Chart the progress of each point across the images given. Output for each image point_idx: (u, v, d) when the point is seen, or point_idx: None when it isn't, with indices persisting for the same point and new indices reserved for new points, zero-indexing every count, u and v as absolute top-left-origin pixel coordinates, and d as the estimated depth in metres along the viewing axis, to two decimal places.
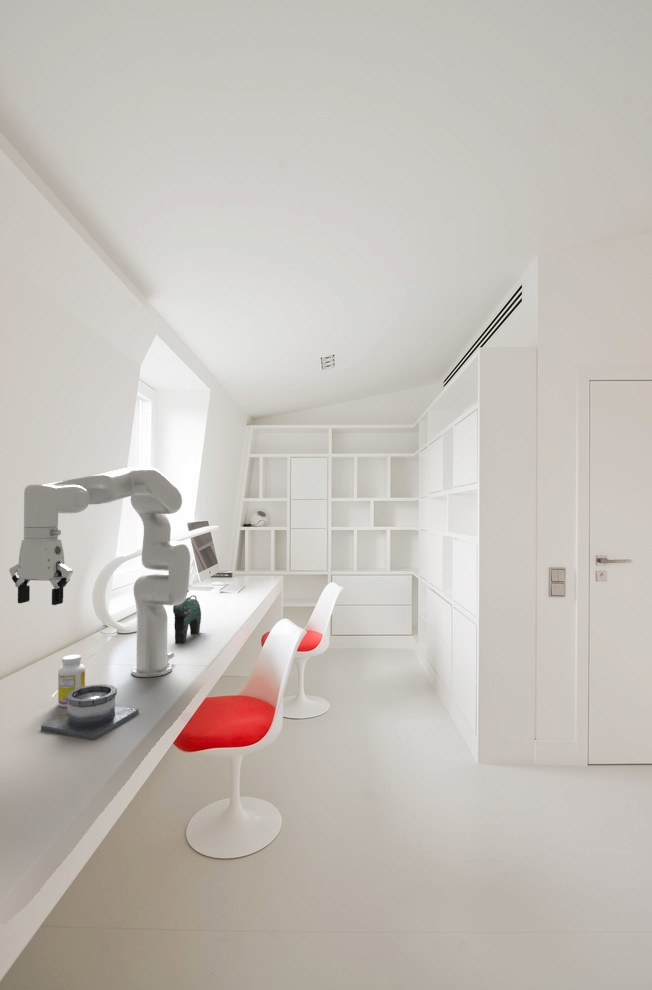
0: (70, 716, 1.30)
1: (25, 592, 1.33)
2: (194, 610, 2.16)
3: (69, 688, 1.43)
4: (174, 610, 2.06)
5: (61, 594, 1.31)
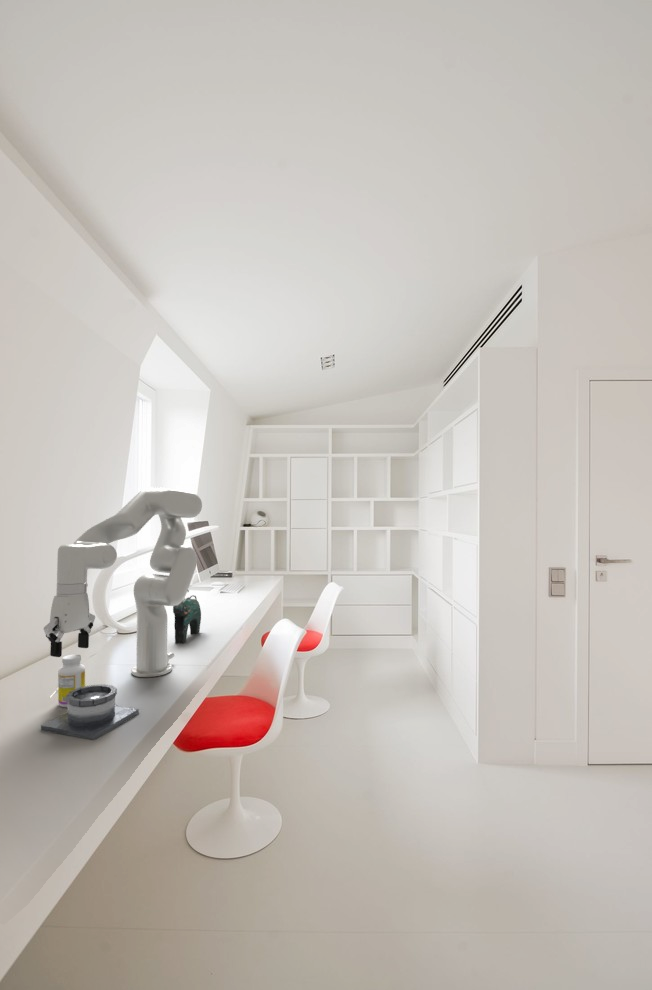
0: (70, 716, 1.30)
1: None
2: (194, 610, 2.16)
3: (69, 688, 1.43)
4: (174, 610, 2.06)
5: None
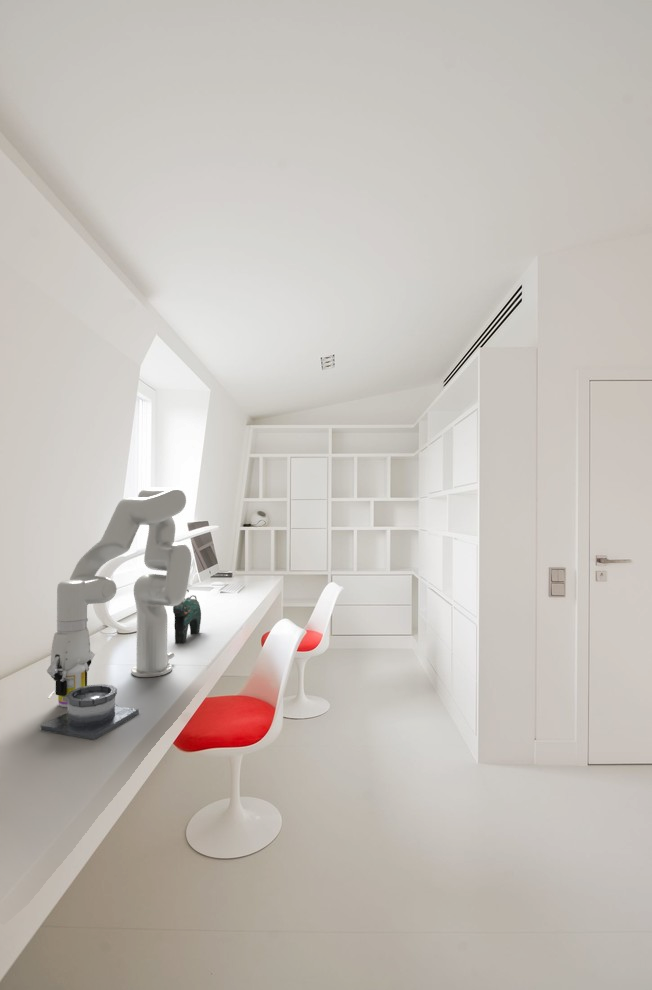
0: (70, 716, 1.30)
1: None
2: (194, 610, 2.16)
3: (69, 688, 1.43)
4: (174, 610, 2.06)
5: None
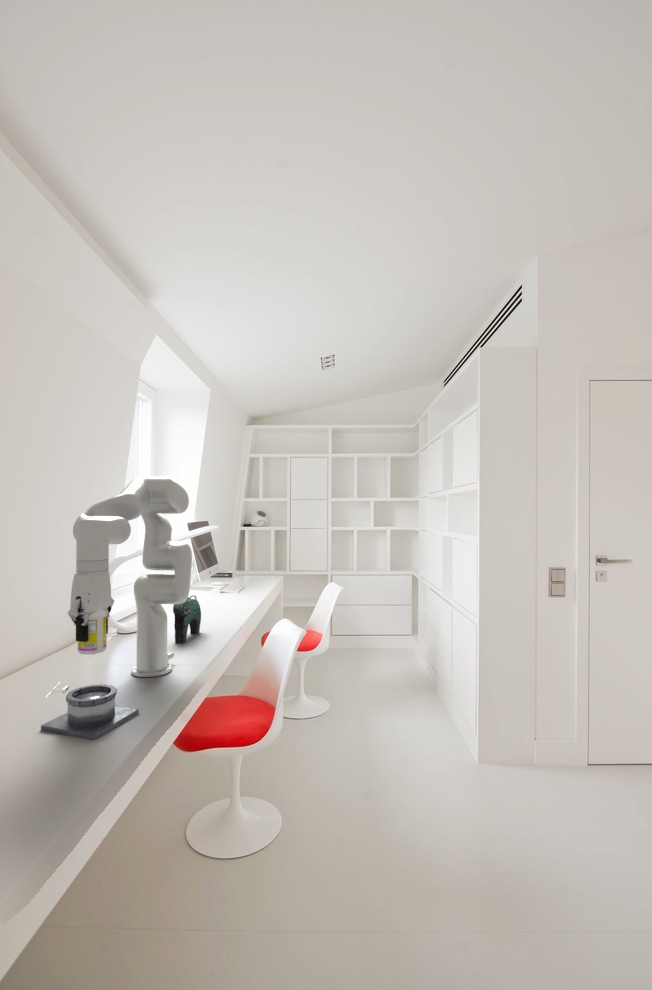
0: (70, 716, 1.30)
1: None
2: (194, 610, 2.16)
3: (90, 634, 1.31)
4: (174, 610, 2.06)
5: None
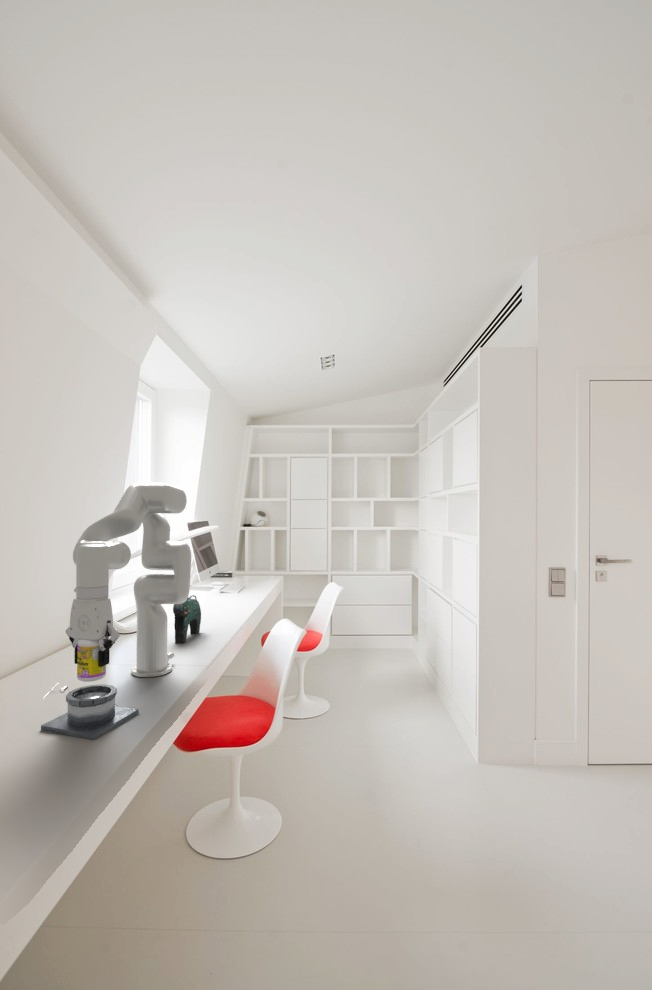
0: (70, 716, 1.30)
1: None
2: (194, 610, 2.16)
3: None
4: (174, 610, 2.06)
5: None
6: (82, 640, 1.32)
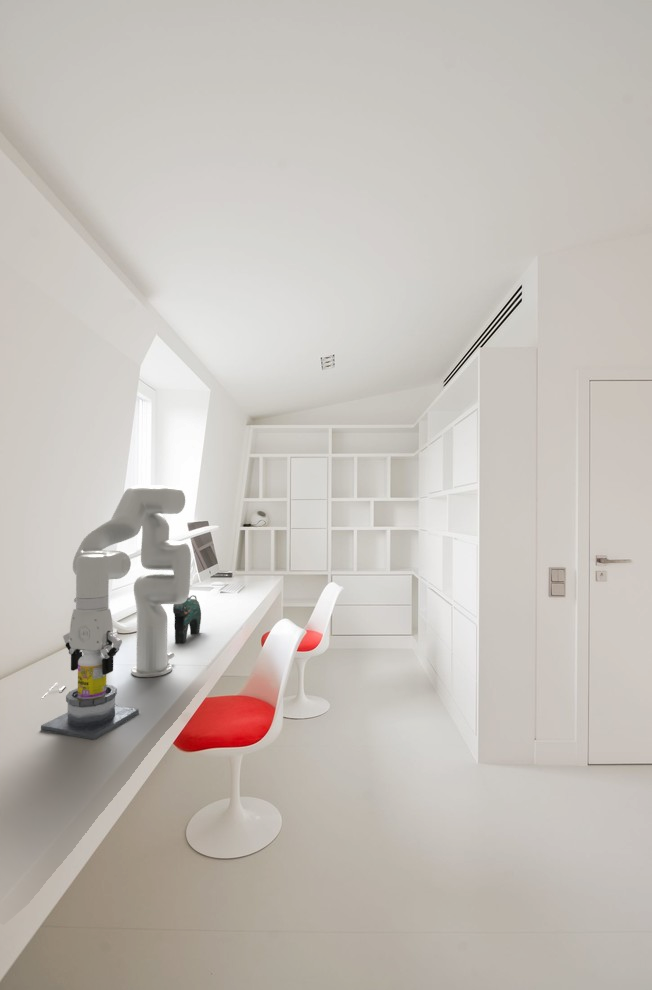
0: (70, 716, 1.30)
1: None
2: (194, 610, 2.16)
3: None
4: (174, 610, 2.06)
5: None
6: (82, 659, 1.32)
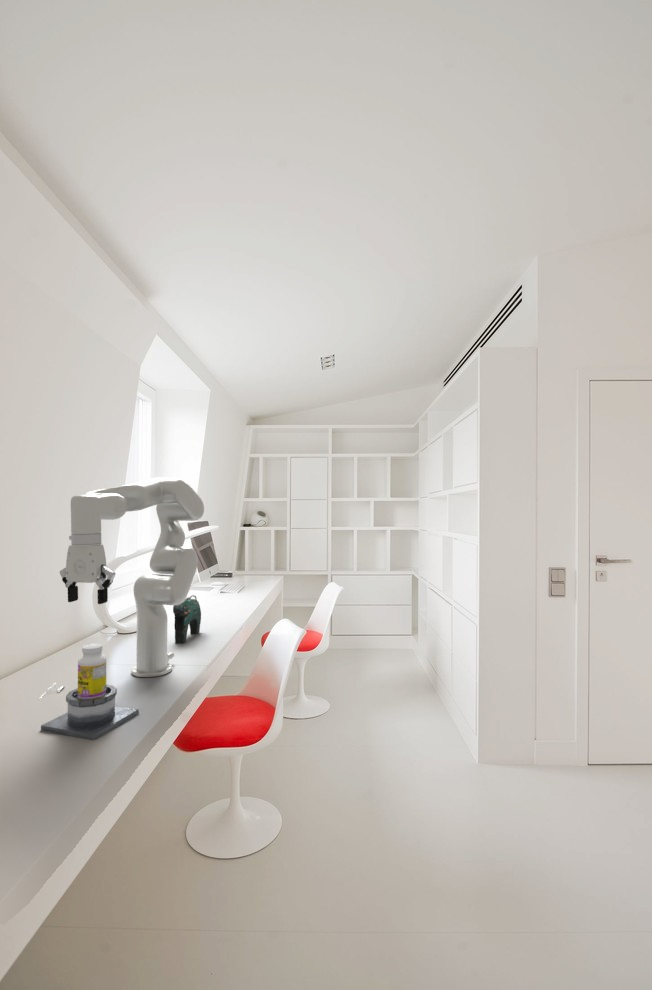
0: (70, 716, 1.30)
1: None
2: (194, 610, 2.16)
3: None
4: (174, 610, 2.06)
5: None
6: (82, 659, 1.32)
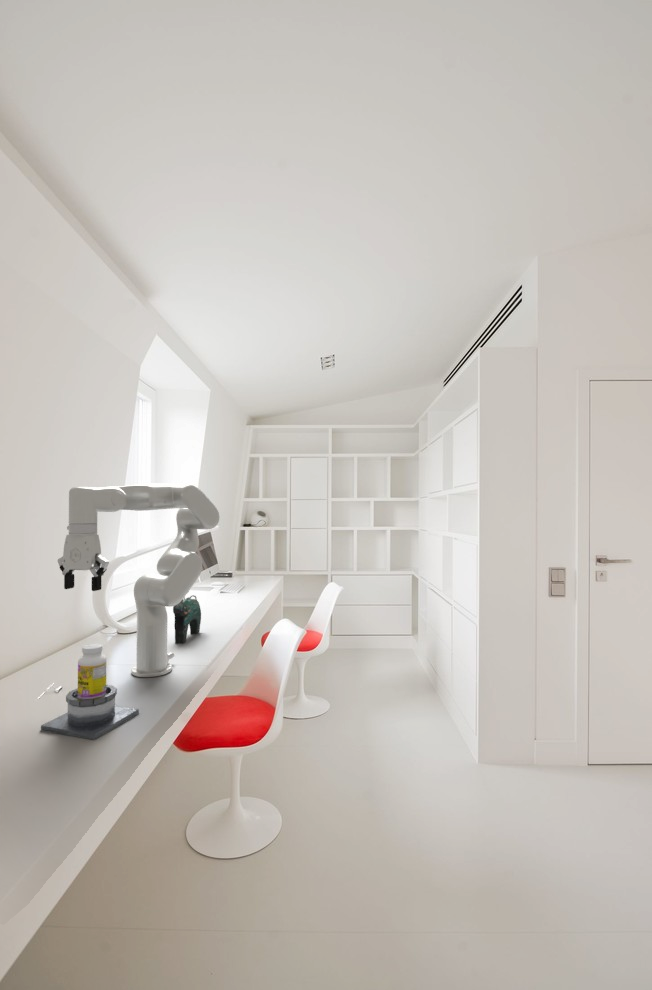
0: (70, 716, 1.30)
1: None
2: (194, 610, 2.16)
3: None
4: (174, 610, 2.06)
5: None
6: (82, 659, 1.32)
